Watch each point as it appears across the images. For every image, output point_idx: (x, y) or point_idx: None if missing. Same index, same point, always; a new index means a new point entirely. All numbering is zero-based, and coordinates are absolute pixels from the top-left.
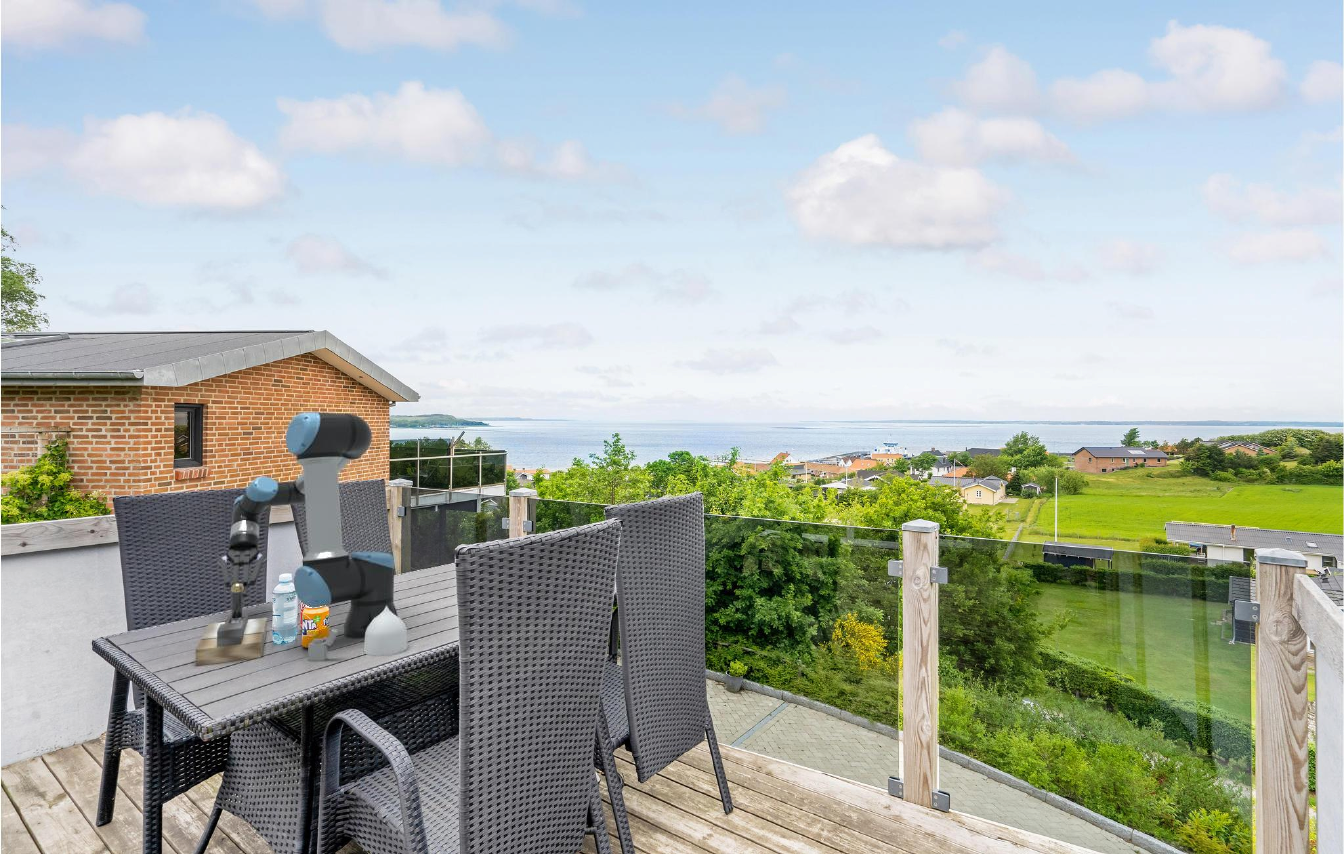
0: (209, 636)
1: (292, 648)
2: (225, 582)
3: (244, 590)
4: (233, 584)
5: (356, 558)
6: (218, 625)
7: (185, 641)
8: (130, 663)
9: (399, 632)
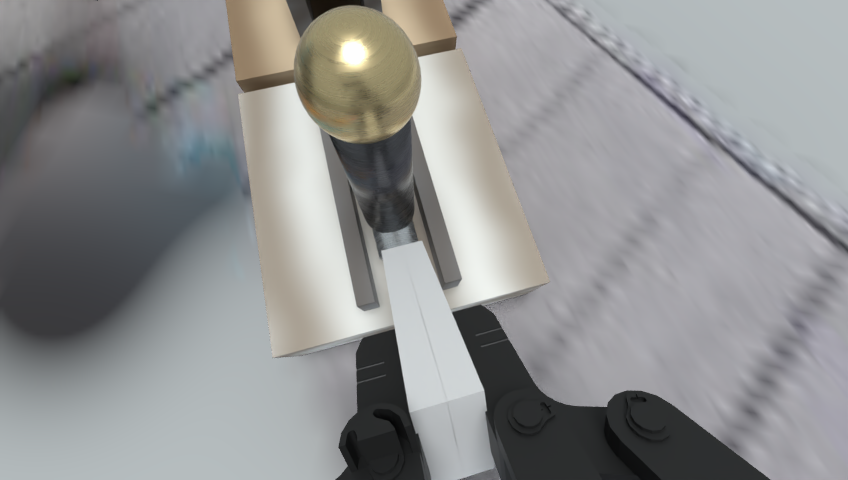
0: (444, 75)
1: (161, 97)
2: (652, 394)
3: (379, 364)
4: (394, 32)
5: None
6: (482, 236)
7: (597, 256)
8: (630, 51)
9: None
